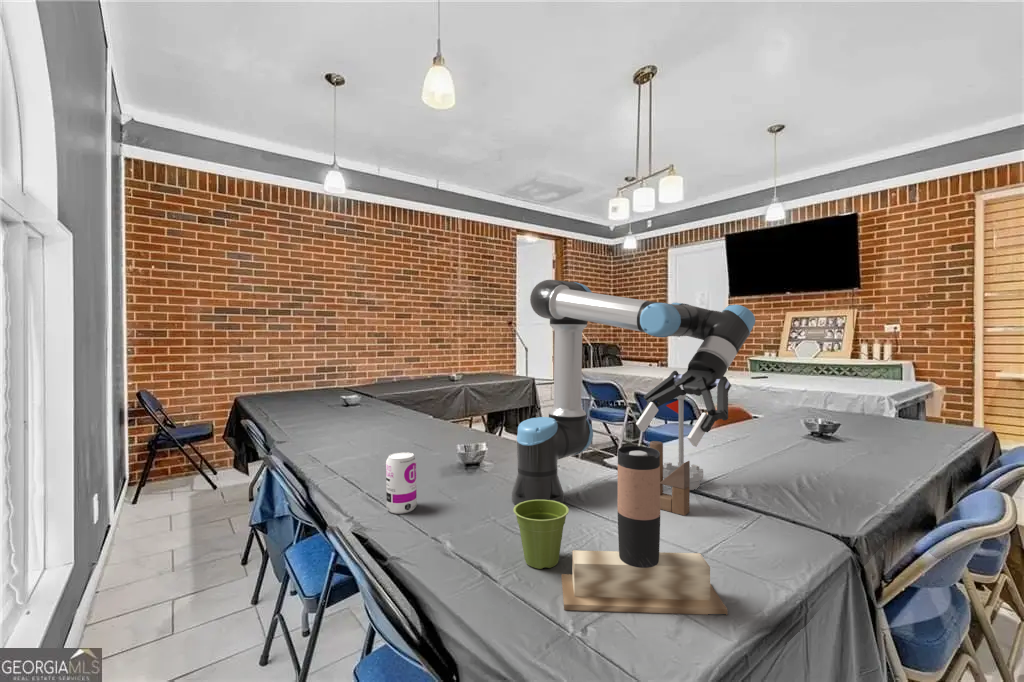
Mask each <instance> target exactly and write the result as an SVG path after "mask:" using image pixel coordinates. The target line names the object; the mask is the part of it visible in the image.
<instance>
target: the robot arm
mask: <svg viewBox="0 0 1024 682" xmlns="http://www.w3.org/2000/svg"><path fill="white" fill-rule="evenodd" d="M529 297H530V306H531V308H532V310H533V312H534V313H535V315H538V317H541V318H544V319H548V320H549V326H550V327H551V328H552V329H553V331H554V343H553V344H554V349H553V350H554V354H553V358H554V359H553V362H554V363H553V407H552V408H551V409H550V410H548V417H547V416H538V417H531V418H528V419H525V420H523V421H521V422H520V423H519V424H518V426H517V434H516V443H517V446H516V448H517V449H516V450H517V455H516V456H517V475H516V478H515V482H514V485H513V488H512V490H511V502H512V504H514V506H516V505H517V504H519V503H521V502H524V501H529V500H552V501H557V502H560V503H562V504H564V502H565V499H564V497H565V496H564V491H563V487H562V484H561V481H560V478H559V475H558V474H559V473H558V460H561V459H564V458H569V457H571V456H576V455H579V454H581V453H582V452H584V451H586V450H587V449H589V447H590V445H591V444H592V442H593V441H592V440H593V437H594V430H593V426H592V424H591V423H590V420H589V419H587V412H586V411H585V410H584V409H583V408H582V380H583V379H582V376H583V374H582V372H583V371H582V369H583V331H584V329H585V328H587V327H588V322H589V323H594V324H601V325H605V326H610V327H615V328H620V329H625V330H630V331H637V332H640V333H641V332H642V333H645V334H647V335H649V336H652V337H656V338H666V337H689V338H694V339H698V340H702V343H701V345H700V346H699V347H698V349H697V350H696V353H694V355H693V356H692V358H691V359H690V361H689V363H688V364H687V370H686V372H684V373H683V374H681V373H679V372H678V371H677V370H673V371H672V372H671V373H670V374H669V376H668V377H667V378H665V379H664V380H663V381H661V382H660V383H659V384H658V385H656V386H654V388H652V389H651V390H650V391H648V392H647V393H646V394H644V396H643V399H644V400H645V402H646V405H645V406H644V408H643V410H642V411H641V415H640V417H639V418H638V420H637V421H636V423H635V425H636V426H637V428H638V429H639V430H640V432H642V433H645V431H647V429H648V427H649V425H650V424H651V422H652V421H653V420H654V418H655V416H656V415H657V413H658V412H659V407H660V406H663V405H664V404H667V403H668V402H671V401H672V400H674V399H677V397H678V396H680V395H682V396H683V395H685V394H686V395H695V396H699V397H701V396H702V399H703V402H704V405H705V409H706V410H705V411H706V412H707V413H706V412H702V413H701V415H700V416H699V417H698V420H697V421H696V423H694V425H693V427H692V429H691V431H690V432H689V434H688V435H687V437H686V438H687V439H688V441H689V443H691V445H692V446H693V447H695V448H696V447H697V446H699V443H700V442H701V440H702V439H703V437H704V435H705V433H709V432H710V431H711V429H712V428H713V426H714V424H715V422H717V421H718V420H723V421H727V420H728V419H729V391H730V389H731V387H732V384H731V383H730V381H729V380H728V378H727V376H725V374H726V373H727V371H728V369H729V367H730V365H731V364H732V363H733V361H734V359H735V357H737V355H738V353H739V351H740V350H741V349H742V346H743V345H744V344H745V342H746V341H747V339H748V338H749V337H750V335H751V332H752V330H753V328H754V327H755V324H756V316H755V315H754V313H753V311H752V310H750V309H749V308H748V307H746V306H743V305H740V304H732V305H728V306H726V307H725V308H724V309H723V310H722V311H720V310H713V309H707V308H703V307H699V306H694V305H690V304H688V303H681V302H680V303H679V302H672V303H666V302H659V301H658V302H657V301H653V300H652V301H650V300H646V299H645V300H644V299H637V298H631V297H624V296H617V295H611V294H610V295H609V294H602V293H596V292H592V290H591V289H590V288H589V287H588V286H587V285H585V284H583V283H579V282H577V281H567V280H566V281H565V280H556V279H545V280H542V281H540V282H539V283H537V284H536V285H535V286H534V287H533V288H532V290H531V293H530V296H529ZM681 387H682V388H681ZM716 388H717V390H716V391H717V392H716V393H717V394H716V406H715V403H714V401H713V400H714V399H713V396H712V393H711V390H713V389H716Z"/></svg>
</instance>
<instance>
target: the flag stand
mask: <svg viewBox="0 0 1024 682" xmlns="http://www.w3.org/2000/svg"><path fill="white" fill-rule="evenodd" d="M686 397H687V394H685V395H683V396H682V395H680V396H678V397H676V399H677V400H676V401H673V402H671V403H668V404H666V405H665V406H666V407H667V408H669V409H670V410H672V411H673V412H675V413H676V414H678V461H677V465H673V463H672V462H671V461H670V462H663V480H664V479H665V478H666V477H668V476H669V475H670V474H671V473H673V472H674V471H675V470H676V469H677V468H679V467H680V466H681V465H682V464H684V463H685V461H684V459H685V458H684V457H685V455H684V454H685V453H684V452H685V451H684V450H685V448H684V447H685V446H684V444H685V443H684V442H685V441H684V439H685V438H684V436H685V435H684V434H685V433H684V432H685V431H684V426H685V425H684V421H685V420H684V419H685V418H684V409H685V408H684V406H685V405H684V400H685V399H686ZM703 479H704V468H700V465H696V464H691V466H690V486H689V488H690V491H694V489H695V490H697V489H696V488H698V487H699V486H700V487H701V482H700V481H702V480H703ZM665 486H666V487H667V486H668V485H665ZM670 487H671V488H670ZM700 487H699V488H700ZM667 488H670V489H672V486H668V487H667ZM699 488H698V489H699Z"/></svg>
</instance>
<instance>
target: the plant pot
mask: <svg viewBox="0 0 1024 682" xmlns="http://www.w3.org/2000/svg"><path fill="white" fill-rule="evenodd" d="M512 510H513V514H514V515H515V516H516V520H517V524H518V528H519V534H520V538H521V540H520V541H521V545H522V546H521V547H522V551H523V557H524V561H525V563H526V565H528V566H529V567H531V568H534V569H540V570H541V569H543V568H548V569H551V568H553V567H555V566H556V565H558V563H559V562H560V561H559V560H560V554H561V546H562V539H563V532H564V526H565V524H566V518H567V515H568V514H569V512H570V509H569V507H568V506H567V504H564V503H560V502H557V501H552V500H529V501H524V502H521V503H519V504H517V505H514V507H513V509H512Z"/></svg>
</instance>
